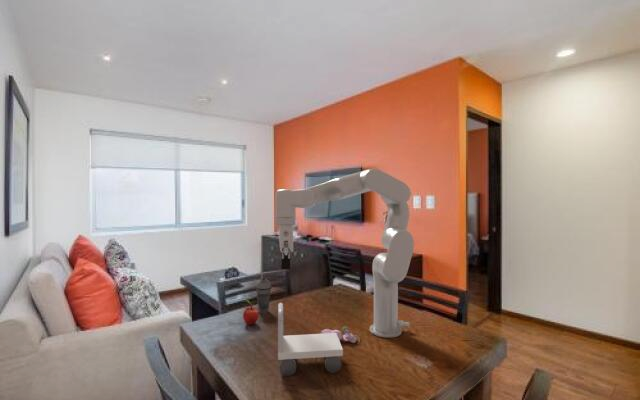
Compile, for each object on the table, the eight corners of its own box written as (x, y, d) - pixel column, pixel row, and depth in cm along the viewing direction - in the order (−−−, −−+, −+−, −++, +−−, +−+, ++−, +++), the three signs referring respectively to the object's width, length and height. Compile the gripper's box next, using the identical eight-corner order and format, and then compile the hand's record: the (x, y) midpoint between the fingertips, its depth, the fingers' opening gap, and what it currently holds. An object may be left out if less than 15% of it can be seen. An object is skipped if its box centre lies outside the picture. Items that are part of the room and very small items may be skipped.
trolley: (335, 352, 110) (336, 300, 110) (343, 372, 98) (343, 313, 98) (278, 356, 108) (278, 302, 108) (277, 376, 95) (278, 316, 95)
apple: (261, 321, 138) (261, 298, 138) (256, 327, 131) (256, 303, 131) (243, 320, 139) (243, 297, 138) (238, 327, 132) (238, 303, 132)
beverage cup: (268, 315, 145) (268, 271, 145) (253, 313, 146) (253, 270, 146) (273, 309, 152) (273, 268, 152) (259, 308, 154) (259, 267, 153)
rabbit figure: (358, 341, 122) (320, 333, 123) (361, 326, 122) (323, 318, 123) (358, 349, 116) (318, 340, 117) (361, 333, 115) (321, 325, 117)
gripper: (296, 223, 113) (296, 271, 113) (294, 219, 130) (294, 261, 130) (275, 223, 112) (275, 271, 112) (276, 220, 129) (276, 261, 129)
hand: (285, 266), depth 121 cm, fingers open, 9 cm apart
